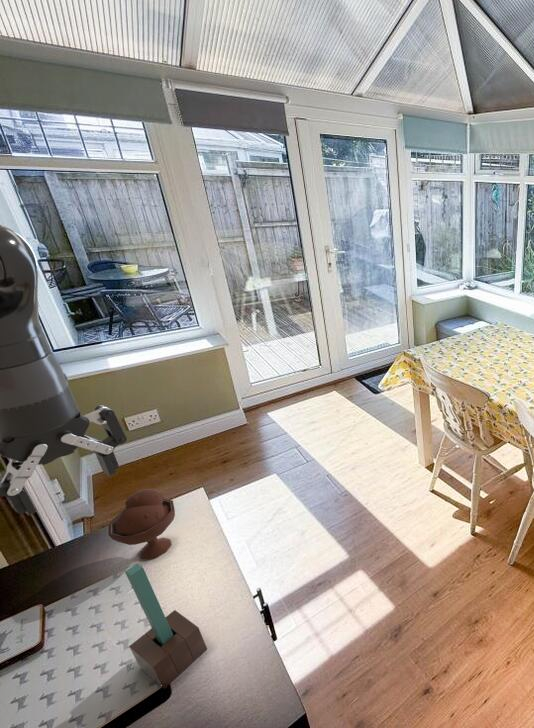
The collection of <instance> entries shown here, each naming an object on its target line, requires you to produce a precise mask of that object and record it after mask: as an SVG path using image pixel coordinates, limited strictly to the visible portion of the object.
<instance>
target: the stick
mask: <svg viewBox="0 0 534 728" xmlns="http://www.w3.org/2000/svg"><path fill="white" fill-rule="evenodd" d="M124 573H125V575H126V577H127V580H128V581H129V584H130V585H131V588H132V590H133V592H134V594H135V596H136V598H137V600H138V603H139V604H140V607H141V609H142V611H143V613H144V615H145V617H146V619H147V622H148V623H149V625H150V627H151V628H152V630H153V632H154V634H155V636H156V638H157V640H158V642H159V644H160V646H162V645H164V644H165V643H166V642H167V641H168V640H170V639H171V638H172V637H173V636H174V635H173V633H172V631H171V629H170V626H169V624H168V622H167V620H166V615H165V613H164V611H163V608H162V606H161V604H160V602H159V600H158V598H157V595H156V593H155V591H154V588H153V586H152V584H151V582H150V580H149V578H148V575H147V573H146V571H145V568H144V567H143V566H142V565H140V564H139V563H135V564H134V565H132V566H130V567H129V568H128V569H126V570H125V571H124ZM151 628H150V629H151Z"/></svg>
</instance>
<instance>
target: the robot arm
mask: <svg viewBox="0 0 534 728" xmlns="http://www.w3.org/2000/svg"><path fill="white" fill-rule="evenodd" d="M38 269H39V267H38V261H37V257H36V255H35V252H34V250H33V248H32V247H31V245H30V244H29V243H28V242H27V241H26V240H25V238H23V237H22V236H21V235H20V234H19V233H17V232H16V231H14V230H12V229H11V228H9V227H6V226H4V225H2V224H1V225H0V457H2V458H6V459H9V462H8V464H7V465H6V467H5V470H6V471H5V473H4V476H3V477H2V479H1V480H0V498H1V497H2V498H3V497H6V499H7V501H8V503H9V504H10V507H11V508H12V510H14V511H15V512H16V513H17V514H19V515H23V514H26V515H27V516H30V515H32V514H35V513H37V510H36V508H35V506H34V504H33V502H32V501H31V498H30V496H29V495H28V492H27V490H25V489H23V488H24V487H25V485H26V482H27V481H28V480H29V478H31V477H32V476H33V474H34V473H35V470H36V468H37V466H39V465H42V466H46V465H47V464H50V463H52V462H53V461H55V460H57V459H59V458H63V457H67V456H69V455H71V454H74V453H75V451H76V450H77V449H78V448H81V449H85V450H87V451H91V452H94V453H95V456H96V459H97V461H98V464H99V466H100V468H101V470H102V472H103V473H104V475H107V476H108V477H112V476H114V475H116V474H117V472H116V470H118V469H119V465H120V464H119V462H118V460H117V457H116V455H115V453H114V450H115V448H116V447H118V446H120V445H123V444H125V443H126V442H127V440H128V438H127V436H126V434H125V431H124V429H123V427H122V426H121V423H120V421H119V419H118V417H117V415H116V413H115V411H114V410H113V409H111V408H109V407H108V406H105V405H104V404H103V405H102V404H99V405H97V406H96V407H95V408H94V410H93V411H91V412H88V413H86V414H82V413H81V411H80V408H79V405H78V404H77V401H76V398H75V396H74V394H73V392H72V389H71V387H70V384H69V382H68V376H67V374H66V373H65V372H64V370H63V367H62V366H61V363H60V362H59V360H58V359H57V358H56V356H55V355H54V352H53V350H52V348H51V346H50V343H49V341H48V339H47V336H46V334H45V332H44V329H43V328H42V325H41V322H40V317H39V313H40V312H39V298H38V297H39V295H38V289H39V288H38V287H39V270H38ZM90 423H95V424H96V425H98V426H102V428H103V430H104V432H105V434H106V436H107V437H106V438H103V440H99V439H98V438H93V437H91V436H88V435H86V433H87V431H88V429H89V427H90Z"/></svg>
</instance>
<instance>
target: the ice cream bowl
mask: <svg viewBox="0 0 534 728" xmlns="http://www.w3.org/2000/svg"><path fill="white" fill-rule="evenodd" d="M124 505H125V507H124V508H123V509H122V510H121V512H119V513H118V514H117V515H116V516H115V517H114V518H113V519H112V520H111V521H110V522H109V523H108V533H107V534H108V536H109V538H110V539H112V541H115V542H117V543H121V544H125V545H128V546H136V545H140V544H144V543H146V544H145V545H144V546H143V547H142V548H141V549H140V551H139V555H140V559H141V560H144V561H145V560H146V561H149V560H152V559H157V558H159V557H160V556H162V555H164V554H166V553H167V552H168V550H169V549H170V548H171V546H172V540H171V539H170V538H167V537H163V536H162V537H159V536H161V535H162V534H163V533H164V532H165V531H166V530H167V529H168V528H169V526H170V525H171V524H172V522H173V521H174V519H175V516H176V510H175V504H174V500H172V499H168V498H165V495H164V494H163V493H162V492H161V491H160V490H159V489H156V488H142V489H139V490H136V491H134V492H133V493H131V494H130V496H128V497H127V499H126V500H125V502H124ZM158 537H159V538H158Z"/></svg>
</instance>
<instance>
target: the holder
mask: <svg viewBox="0 0 534 728" xmlns="http://www.w3.org/2000/svg"><path fill="white" fill-rule="evenodd" d="M165 617H166V620H167V622H168V624H169V626H170V629H171V631H172V633H173V635H174V636H173V637H172V638H171V639H170V640H168V641H167V642H166V643H165V644H164V645H162V646H160V644H159V642H158V640H157V638H156V636H155V634H154V632H153V630H152V628H150V629H149V630H148V631H146V632H145V633H144V634H142V635H141V636H140V637H139V638H138V639H136V640H135V641H133V642H132V643H131V644H130V645H129V646H128V647H129V649H130V651H131V653H132V655H133V657H134V658H135V660H136V663H137V664H138V666H139V668H140V669H141V671H143V672H144V673H145V674H146V675H147V676H148V677H150V678H151V679H152V680H153V681H154V682H155V683H157V684H158V685H159V686H160V687H161V688H162V689H163V690H164V689H166V688H167V687H168V686H169V685H170V684H171V683H172V682H173V681H175V680H176V679H177V678H178V677H179V676H180V675H181V674H182V673H184V671H186V669H187V668H189V667H190V666H191V665H192V664H193V663H194V662H195V661H196V660H197V659H199V657H200V656H202V655H203V654H204V653H205V652H206V651H207V650H208V647H207V645H206V642H205V640H204V637H203V635H202V632H201V630H200V627H199V626H197V625H196V624H195V623H193V621H190V619H188V618H187V617H185V616H184V615H182V614H181V613H180V612H178V611H177V610H176V609H174V610H173V611H171V612H170V613H169V614H167V615H165ZM161 685H162V686H161Z"/></svg>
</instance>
